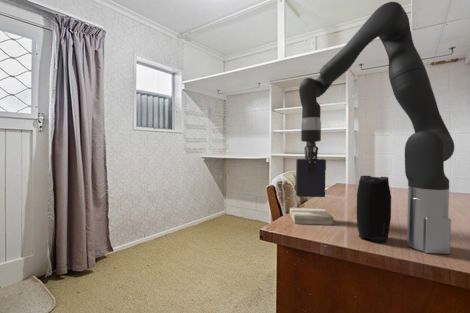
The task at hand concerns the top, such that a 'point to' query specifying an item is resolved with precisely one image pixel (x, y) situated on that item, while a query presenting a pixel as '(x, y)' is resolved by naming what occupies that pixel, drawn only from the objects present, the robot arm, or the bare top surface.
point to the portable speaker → (373, 208)
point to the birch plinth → (311, 216)
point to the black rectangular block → (310, 178)
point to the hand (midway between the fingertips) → (310, 172)
